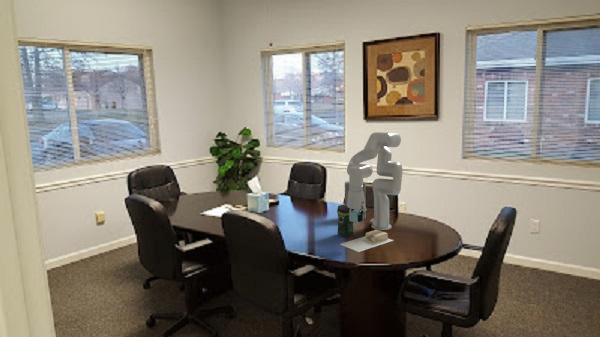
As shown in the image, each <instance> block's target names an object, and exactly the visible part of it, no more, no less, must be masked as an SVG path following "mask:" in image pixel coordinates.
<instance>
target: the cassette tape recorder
mask: <svg viewBox="0 0 600 337" xmlns="http://www.w3.org/2000/svg"><path fill="white" fill-rule="evenodd" d="M348 191H349V181H344V205H346V206H347V197H348ZM363 192H364V198H365V199H366V181H363ZM360 211H361V210H360ZM366 212H367V211H365V213H364V214H363V220H366V217H367V215H366Z"/></svg>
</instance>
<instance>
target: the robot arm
mask: <svg viewBox="0 0 600 337" xmlns="http://www.w3.org/2000/svg"><path fill="white" fill-rule="evenodd" d="M401 142H402V138H401V135H400V134H399V133H397V132H383V131H382V132H381V131H380V132H373V133H371V134H370V135H369V137H368V139H367V141H366V143H365V145H364V147H363V149H362V150H360V151H358V152H357V153H355V154H354V155H353V156H352V157H351V158H350V160H349V162H348V164H347V167H346V173H347V175H348V176H349V177H348V180H349V181H348V182H349V191H348V197H347V207H348V209H349V211H353V210H358V214H359V215H358V222H359V223H362V222H364V219H363V214H364V213H365V212H367V210H368V209H367V207H366V197H365V198H364V192H363V182H364V179H366V178H367V179H368V178H369V177H371V176H372V174H373V170H374V169H373V167H372V166H371V164H367V163H364V162H367V161H370V160H373V159H375V158H376V157H377V162H376V175H377V176H378V178H376V179H374V180H373V181H372V184H371V186H372V192H373V217H372V218H371V219H369V221H370V222H371V223H372V224H371V225H370V226H371V228H372V229H374V230H379V231H388V230H391V229H392V228H393V227H392V224H391V223H390V199H389V197H388V196H389V195H390V196H398V195H399V194H400V193H401V189H402V180H403V165H402V164H401V162H398V161H392V155H393V154H392V151H391V150H390V148H397V147H399V146H400V145H401ZM379 176H380V177H386V178H379ZM391 178H392V179H391ZM360 210H361V212H360ZM361 221H362V222H361Z"/></svg>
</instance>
